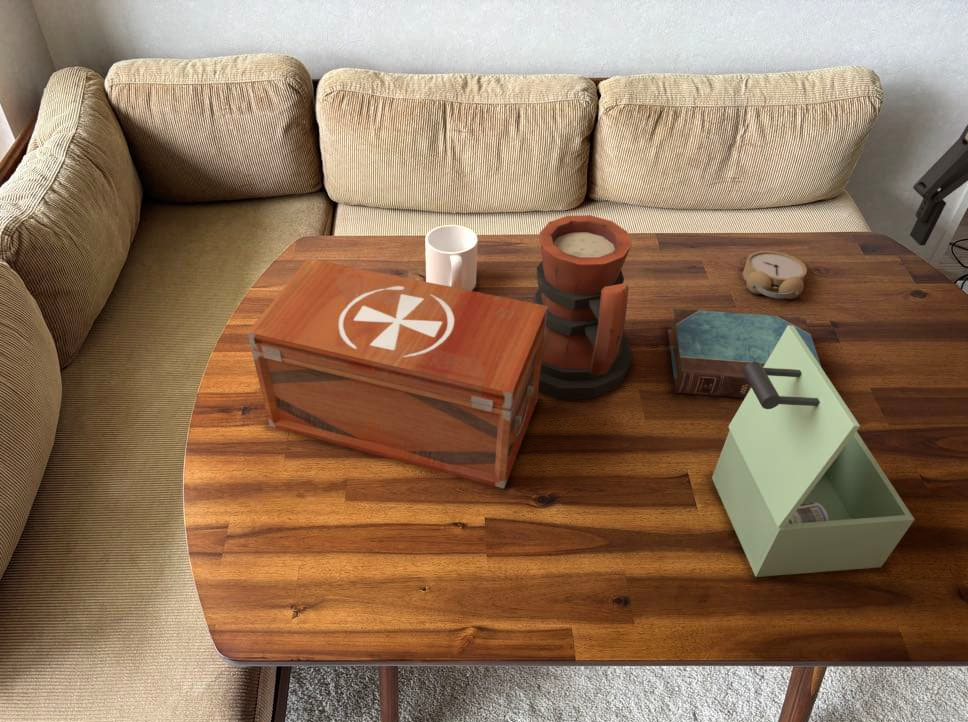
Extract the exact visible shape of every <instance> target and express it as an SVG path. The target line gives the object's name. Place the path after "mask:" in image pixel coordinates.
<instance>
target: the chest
mask: <svg viewBox="0 0 968 722" xmlns="http://www.w3.org/2000/svg"><path fill="white" fill-rule="evenodd" d="M858 432H859V431H858V430H857V431H856V433H855V434H854V435H853V436H852V438H851V439H850V440H849V442H848V443H847V444H846V446H845V447H844V448H843V450H842V451H841V452H840V454H839V455H838V456H837V458H836V459H835V460H834V462H833V463H832V464H831V466H830V467H829V468H828V469H827V471H826V472H825V473H824V475H823V476H822V477H821V479H820V480H819V481H818V483H817V484H816V485H815V487H814V488H813V489H812V491H811V492H810V493H809V495H808V496H807V497H806V499H805V500H804V501H803V502H802V504H806V503H813V502H816V503H818V504H820V505H821V506H822V507H823V508H824V509H825V510H826V512H827V515H828V518H829V521H821V522H808V523H795V524H786V525H785V526H784V527H783V528H781V527H777V525H776V523H775V520H774V518H773V516H772V514H771V512H770V510H769V508H768V506H767V504H766V502H765V500H764V498H763V496H762V494H761V492H760V490H759V488H758V486H757V484H756V482H755V480H754V478H753V476H752V474H751V472H750V470H749V468H748V466H747V464H746V462H745V460H744V458H743V456H742V454H741V452H740V450H739V448H738V446H737V444H736V442H735V440H734V437H733V435H732V433H731V431H730V430H729V431H728V434H727V436H726V438H725V442H724V445H723V447H722V449H721V452H720V455H719V457H718V459H717V462H716V465H715V468H714V471H713V473H712V476H711V479H712V482H713V484H714V486H715V489H716V491H717V493H718V496H719V498H720V500H721V502H722V504H723V506H724V509H725V512H726V513H727V516H728V518H729V521H730V523H731V525H732V527H733V530H734V531H735V534H736V537H737V539H738V540H739V543H740V546H741V547H742V550H743V552H744V554H745V556H746V559H747V561H748V564H749V565H750V567H751V570H752V572H753V575H754V576H755V578H760V577H773V576H775V577H776V576H783V575H784V576H787V575H788V576H789V575H799V574H812V573H825V572H837V571H850V570H851V571H852V570H862V569H864V570H865V569H875V568H882V567H883V565H884V564H885V562H886V561H887V559H888V558H889V557H890V556H891V554H892V553H893V551H894V549H895V548H896V547H897V546H898V544H899V543H900V541H901V540H902V538H903V537H904V536H905V534H906V532H907V531H908V530H909V528H910V527H911V526H912V524H913V523H914V521H915V517H914V516H913V515H912V513H911V512H910V510H909V509H908V507H907V505H906V504H905V502H904V501H903V500H902V498H901V496H900V495H899V493H898V492H897V490H896V488H895V487H894V485H893V484H892V483H891V481H890V479H889V478H888V477H887V475H886V473H885V472H884V470H883V469H882V468H881V466H880V464H879V463H878V461H877V459H875V457H874V455H873V454H872V452H871V451H870V449H869V448H868V446H867V445H866V443H865V441H864V440H863V438H862V437H861V435H860V434H859V433H858Z"/></svg>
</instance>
